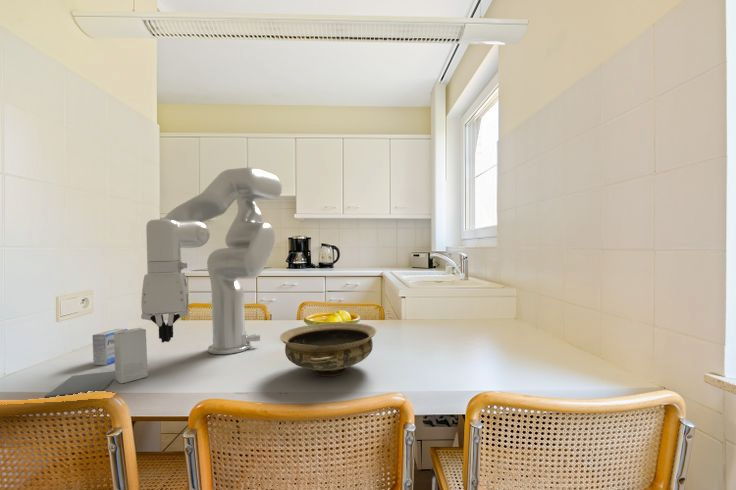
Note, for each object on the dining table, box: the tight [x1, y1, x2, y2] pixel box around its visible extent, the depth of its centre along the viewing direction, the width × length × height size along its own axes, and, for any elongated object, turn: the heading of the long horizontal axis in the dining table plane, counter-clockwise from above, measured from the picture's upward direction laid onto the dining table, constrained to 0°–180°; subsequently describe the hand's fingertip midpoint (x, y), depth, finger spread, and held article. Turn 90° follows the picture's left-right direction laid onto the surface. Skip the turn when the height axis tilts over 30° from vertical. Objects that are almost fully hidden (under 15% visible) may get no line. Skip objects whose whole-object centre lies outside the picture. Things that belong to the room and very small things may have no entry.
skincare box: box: [114, 327, 149, 384], centre depth 95 cm, size 6×4×12 cm
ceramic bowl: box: [279, 322, 377, 377], centre depth 97 cm, size 30×24×10 cm
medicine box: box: [92, 328, 129, 366], centre depth 111 cm, size 8×4×9 cm, turn 168°
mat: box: [44, 370, 116, 398], centre depth 92 cm, size 11×14×1 cm
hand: (166, 340), depth 97 cm, fingers closed
